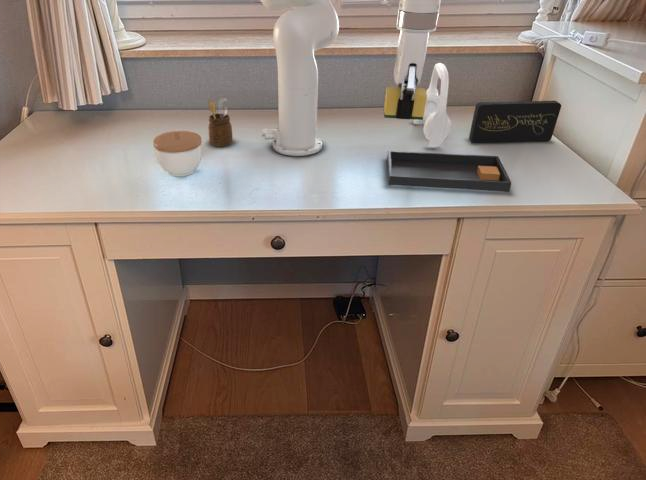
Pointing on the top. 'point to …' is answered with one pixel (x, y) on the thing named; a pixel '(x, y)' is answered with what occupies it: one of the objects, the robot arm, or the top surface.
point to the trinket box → (178, 152)
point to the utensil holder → (219, 127)
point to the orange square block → (488, 173)
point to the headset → (436, 108)
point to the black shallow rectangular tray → (444, 171)
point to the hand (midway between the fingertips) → (402, 112)
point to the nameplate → (514, 121)
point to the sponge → (394, 95)
